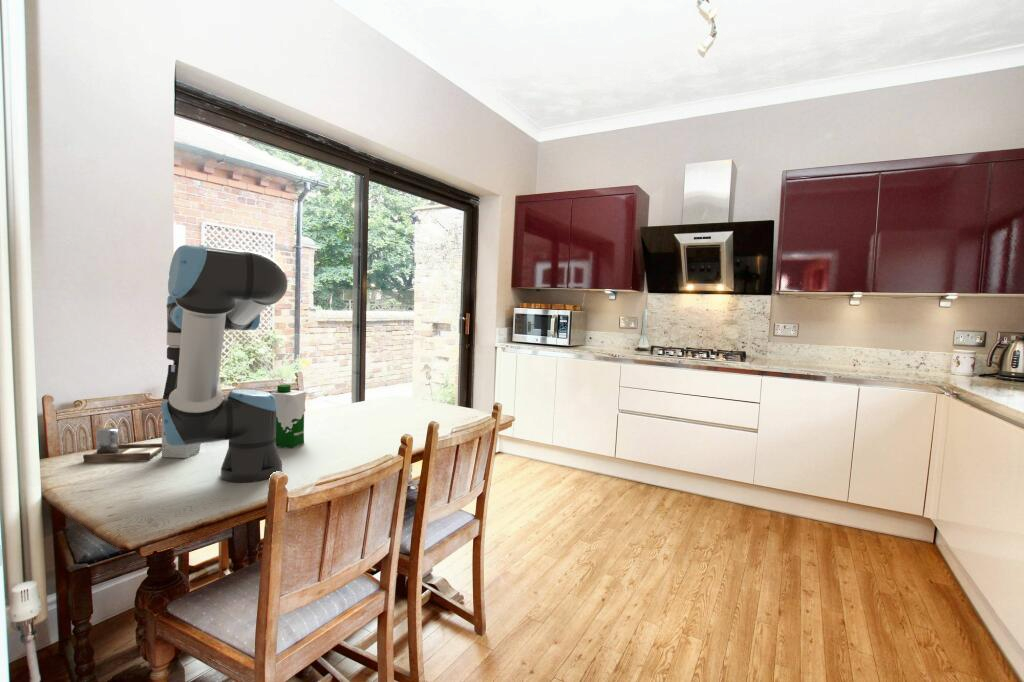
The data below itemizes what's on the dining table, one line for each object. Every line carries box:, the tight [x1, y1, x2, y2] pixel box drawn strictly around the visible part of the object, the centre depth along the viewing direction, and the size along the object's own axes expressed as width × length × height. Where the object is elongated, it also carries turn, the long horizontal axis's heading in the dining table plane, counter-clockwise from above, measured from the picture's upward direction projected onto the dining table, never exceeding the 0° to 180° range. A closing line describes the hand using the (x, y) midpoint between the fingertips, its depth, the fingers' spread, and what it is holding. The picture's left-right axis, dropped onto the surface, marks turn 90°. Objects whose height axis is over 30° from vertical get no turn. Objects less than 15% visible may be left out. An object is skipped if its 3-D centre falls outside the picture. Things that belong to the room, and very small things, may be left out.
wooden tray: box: [82, 442, 162, 463], centre depth 144 cm, size 16×11×2 cm, turn 106°
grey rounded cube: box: [96, 426, 120, 454], centre depth 143 cm, size 5×5×7 cm
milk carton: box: [271, 384, 307, 449], centre depth 163 cm, size 9×9×20 cm
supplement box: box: [161, 416, 201, 459], centre depth 148 cm, size 7×7×13 cm
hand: (181, 415), depth 148 cm, fingers open, 13 cm apart
